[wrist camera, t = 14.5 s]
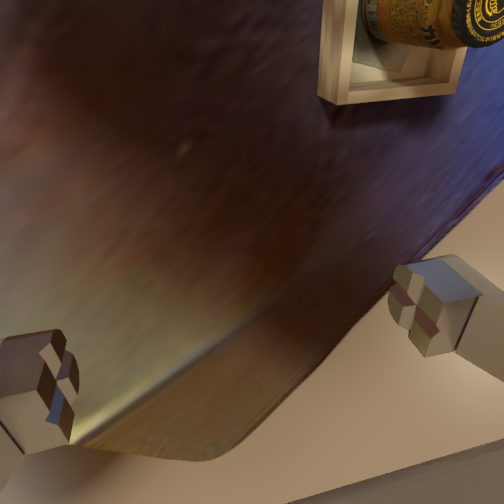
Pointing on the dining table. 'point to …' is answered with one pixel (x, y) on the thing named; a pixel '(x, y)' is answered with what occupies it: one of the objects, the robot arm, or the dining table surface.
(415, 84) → the caddy
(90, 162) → the dining table surface
